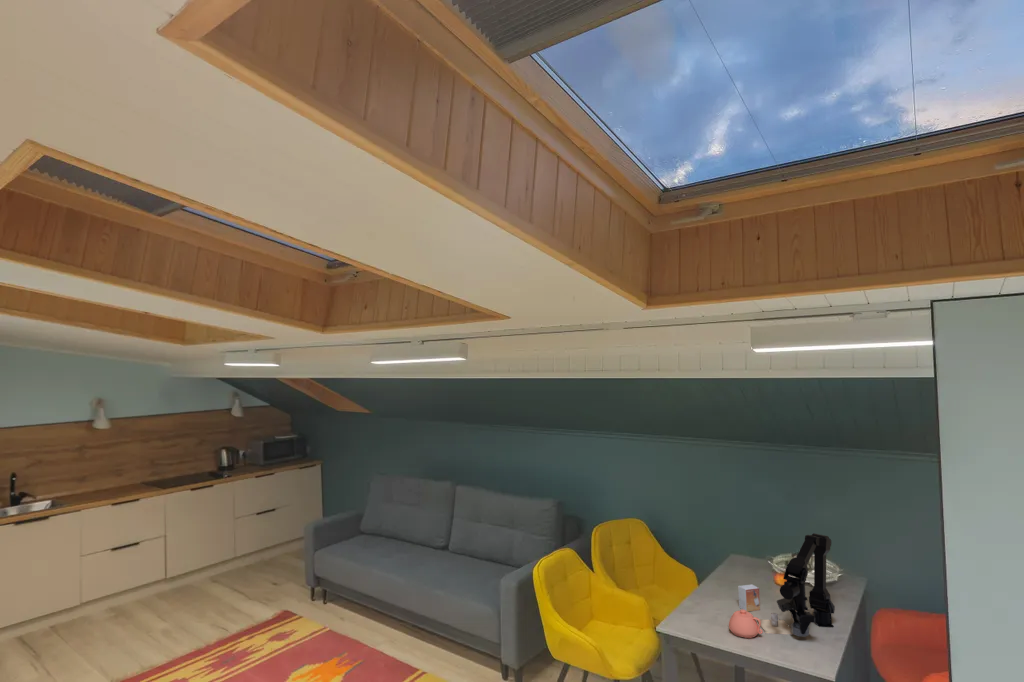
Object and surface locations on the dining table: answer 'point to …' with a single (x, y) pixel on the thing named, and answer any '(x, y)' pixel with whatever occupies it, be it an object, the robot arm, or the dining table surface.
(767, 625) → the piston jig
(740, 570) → the dining table surface
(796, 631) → the ring
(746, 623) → the sugar bowl
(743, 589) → the small box
